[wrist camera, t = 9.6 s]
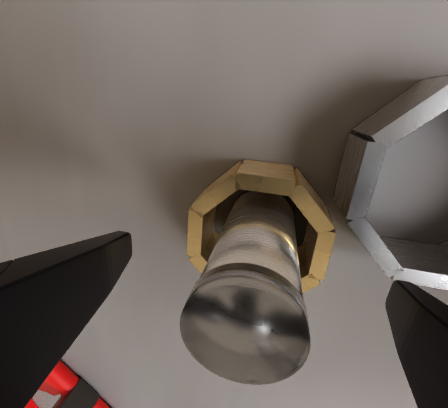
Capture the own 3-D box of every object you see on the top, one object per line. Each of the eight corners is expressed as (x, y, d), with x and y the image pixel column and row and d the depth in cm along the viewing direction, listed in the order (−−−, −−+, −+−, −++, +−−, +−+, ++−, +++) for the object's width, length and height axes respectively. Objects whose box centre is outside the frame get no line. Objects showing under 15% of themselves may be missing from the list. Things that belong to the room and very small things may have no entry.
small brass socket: (334, 170, 11) (348, 187, 9) (308, 278, 13) (314, 314, 11) (207, 154, 12) (189, 166, 10) (201, 258, 14) (185, 288, 12)
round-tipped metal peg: (300, 193, 12) (324, 299, 5) (288, 252, 13) (296, 397, 7) (232, 183, 12) (181, 270, 6) (226, 241, 14) (178, 367, 7)
